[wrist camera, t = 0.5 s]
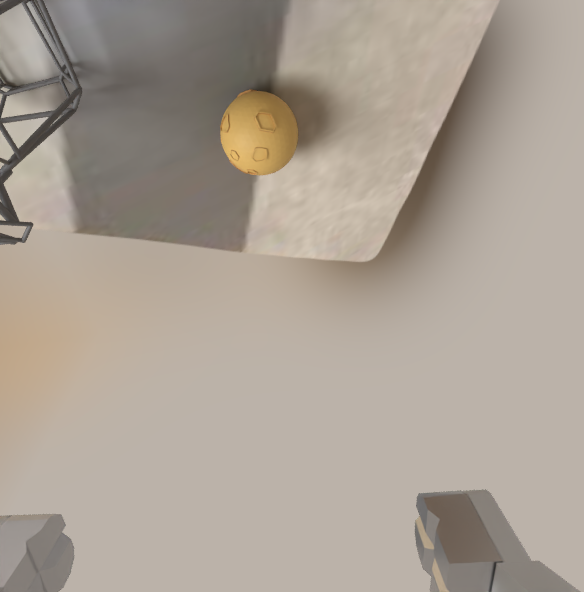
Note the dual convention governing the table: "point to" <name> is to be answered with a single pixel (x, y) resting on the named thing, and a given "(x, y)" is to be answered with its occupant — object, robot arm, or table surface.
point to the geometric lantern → (46, 127)
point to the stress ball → (259, 133)
